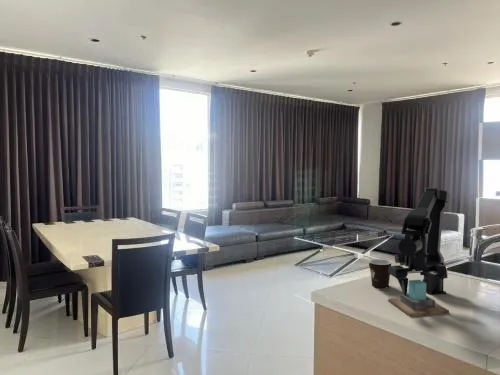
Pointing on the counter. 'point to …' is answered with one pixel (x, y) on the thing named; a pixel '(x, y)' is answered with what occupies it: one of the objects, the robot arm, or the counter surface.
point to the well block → (417, 306)
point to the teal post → (417, 290)
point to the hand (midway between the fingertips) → (417, 294)
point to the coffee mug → (379, 273)
